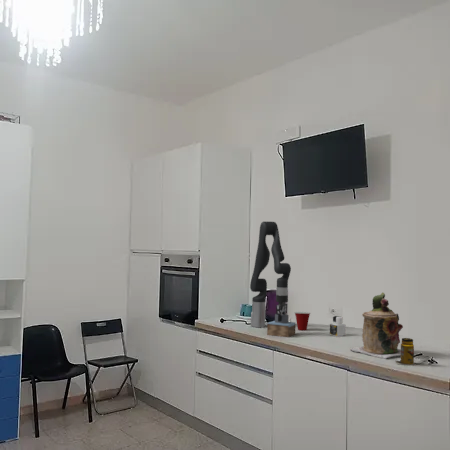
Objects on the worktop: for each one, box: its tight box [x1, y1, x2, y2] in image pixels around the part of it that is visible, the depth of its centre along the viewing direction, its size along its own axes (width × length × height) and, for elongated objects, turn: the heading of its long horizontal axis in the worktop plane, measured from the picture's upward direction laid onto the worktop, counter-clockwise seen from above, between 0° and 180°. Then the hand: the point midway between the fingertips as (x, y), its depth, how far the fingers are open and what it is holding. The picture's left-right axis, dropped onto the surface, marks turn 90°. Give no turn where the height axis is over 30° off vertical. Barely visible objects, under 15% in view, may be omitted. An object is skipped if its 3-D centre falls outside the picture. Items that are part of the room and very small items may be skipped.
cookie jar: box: [349, 292, 404, 360], centre depth 267 cm, size 25×25×32 cm
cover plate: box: [267, 313, 296, 327], centre depth 316 cm, size 14×12×6 cm
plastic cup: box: [294, 311, 311, 331], centre depth 337 cm, size 11×11×12 cm
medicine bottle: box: [329, 315, 347, 337], centre depth 318 cm, size 7×7×12 cm
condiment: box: [394, 337, 415, 366], centre depth 243 cm, size 7×8×12 cm
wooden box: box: [266, 323, 296, 338], centre depth 316 cm, size 14×13×7 cm
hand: (281, 320), depth 316 cm, fingers open, 6 cm apart
